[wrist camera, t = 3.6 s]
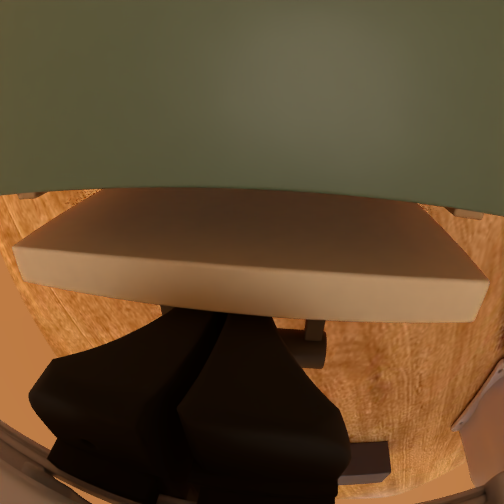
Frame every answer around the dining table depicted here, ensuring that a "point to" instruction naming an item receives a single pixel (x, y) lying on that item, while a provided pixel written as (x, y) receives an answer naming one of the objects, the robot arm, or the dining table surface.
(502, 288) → the dining table surface
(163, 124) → the cabinet
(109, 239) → the drawer
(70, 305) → the dining table surface
